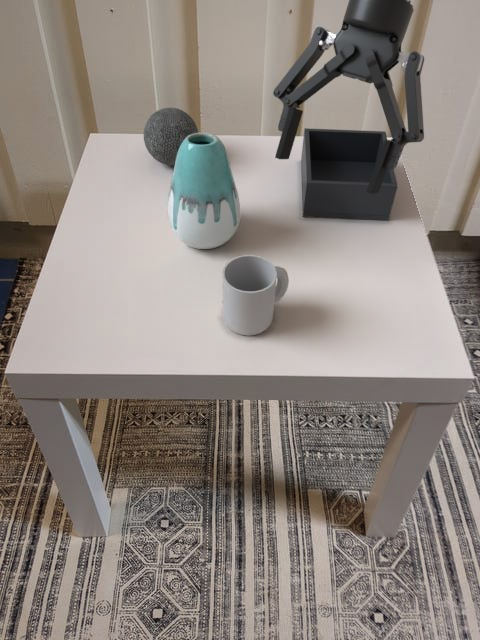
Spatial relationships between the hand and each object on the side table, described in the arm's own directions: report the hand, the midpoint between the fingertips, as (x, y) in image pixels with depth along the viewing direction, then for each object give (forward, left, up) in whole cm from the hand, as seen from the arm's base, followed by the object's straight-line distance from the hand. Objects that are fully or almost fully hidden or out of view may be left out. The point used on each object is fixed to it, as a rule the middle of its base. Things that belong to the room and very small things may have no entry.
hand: (325, 175), depth 74 cm
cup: (-9, +8, -18) cm, 22 cm away
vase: (+8, +17, -18) cm, 26 cm away
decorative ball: (+29, +25, -18) cm, 42 cm away
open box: (+22, -6, -18) cm, 29 cm away
